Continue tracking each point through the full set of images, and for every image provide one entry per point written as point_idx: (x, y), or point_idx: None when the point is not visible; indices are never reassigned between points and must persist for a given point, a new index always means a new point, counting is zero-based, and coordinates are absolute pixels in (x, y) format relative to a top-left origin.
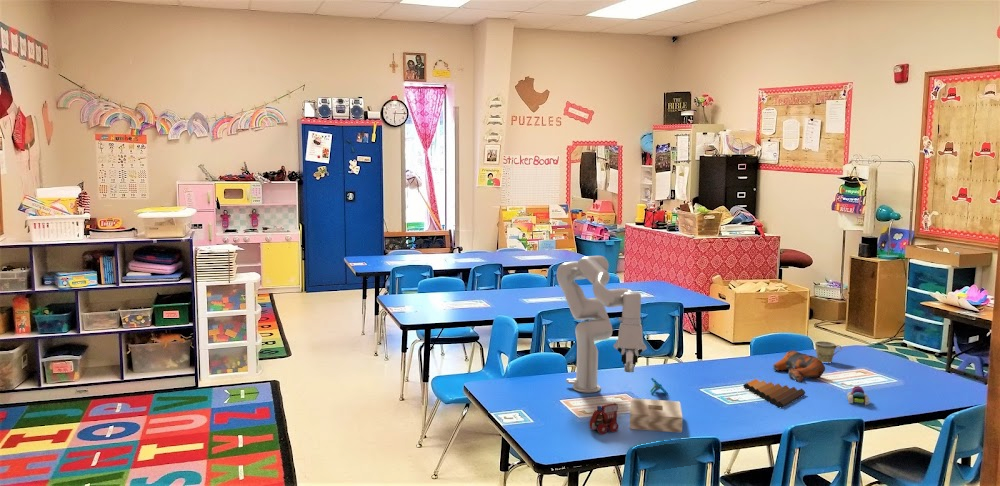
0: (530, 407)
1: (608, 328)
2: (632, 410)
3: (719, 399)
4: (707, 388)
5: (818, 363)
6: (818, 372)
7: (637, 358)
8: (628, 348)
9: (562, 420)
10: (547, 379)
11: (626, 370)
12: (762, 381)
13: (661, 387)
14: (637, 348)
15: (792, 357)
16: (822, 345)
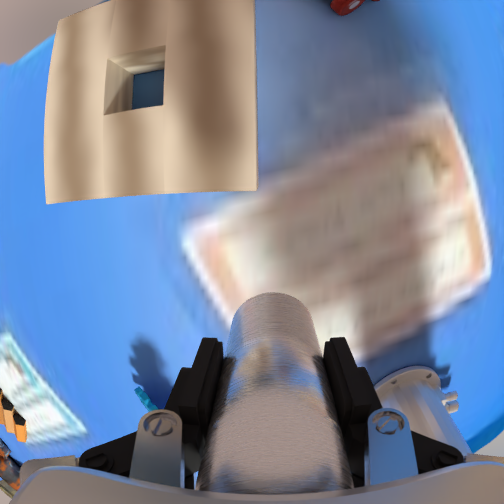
0: None
1: None
2: (242, 10)
3: (29, 363)
4: (74, 430)
5: None
6: None
7: (172, 393)
8: (316, 494)
9: (475, 70)
10: (469, 420)
11: (297, 303)
12: (6, 428)
13: (144, 397)
14: (100, 479)
15: (11, 479)
16: (4, 489)
